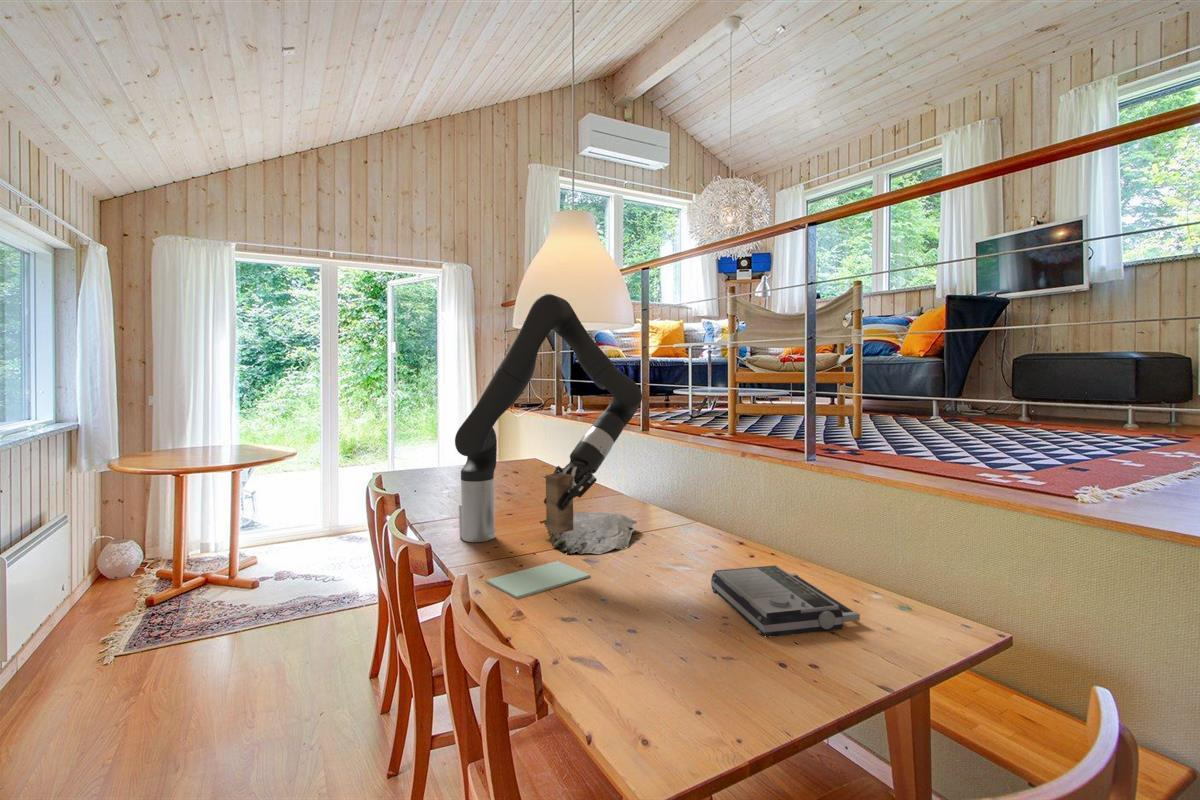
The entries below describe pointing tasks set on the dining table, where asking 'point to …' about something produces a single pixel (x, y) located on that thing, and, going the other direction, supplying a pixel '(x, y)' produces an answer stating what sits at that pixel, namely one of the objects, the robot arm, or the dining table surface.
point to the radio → (779, 601)
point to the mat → (537, 579)
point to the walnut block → (554, 491)
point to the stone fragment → (594, 533)
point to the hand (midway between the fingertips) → (553, 506)
